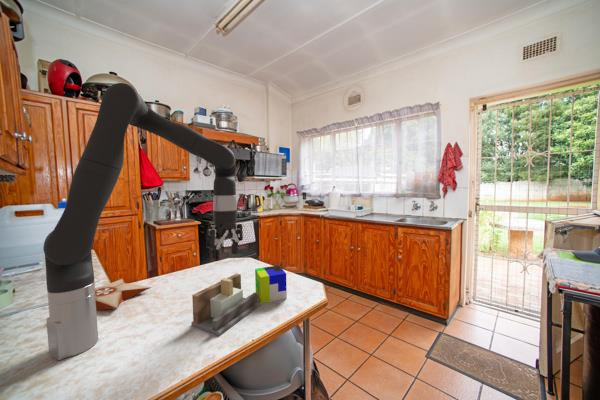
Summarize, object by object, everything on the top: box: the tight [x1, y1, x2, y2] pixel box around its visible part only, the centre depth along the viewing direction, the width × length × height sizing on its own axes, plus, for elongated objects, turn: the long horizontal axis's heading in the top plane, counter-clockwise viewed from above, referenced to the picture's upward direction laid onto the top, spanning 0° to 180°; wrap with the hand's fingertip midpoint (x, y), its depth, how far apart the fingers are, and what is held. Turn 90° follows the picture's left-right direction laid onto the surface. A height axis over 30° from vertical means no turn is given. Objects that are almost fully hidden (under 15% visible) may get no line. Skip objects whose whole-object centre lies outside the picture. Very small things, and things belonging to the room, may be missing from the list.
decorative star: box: [95, 278, 152, 311], centre depth 92 cm, size 29×4×30 cm
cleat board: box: [191, 273, 262, 337], centre depth 81 cm, size 20×12×10 cm, turn 153°
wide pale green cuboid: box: [210, 277, 244, 318], centre depth 81 cm, size 10×5×11 cm, turn 153°
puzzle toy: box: [254, 264, 288, 304], centre depth 95 cm, size 10×10×10 cm
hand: (226, 257), depth 80 cm, fingers open, 8 cm apart
